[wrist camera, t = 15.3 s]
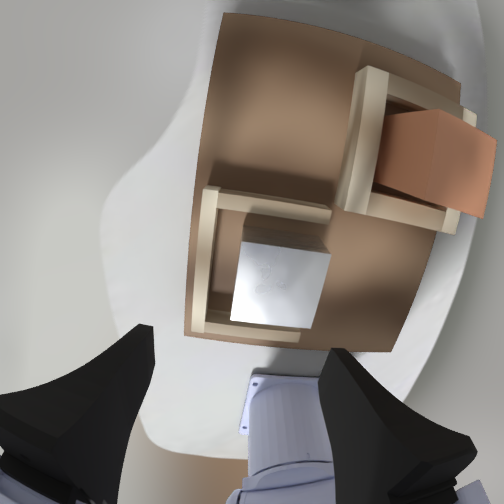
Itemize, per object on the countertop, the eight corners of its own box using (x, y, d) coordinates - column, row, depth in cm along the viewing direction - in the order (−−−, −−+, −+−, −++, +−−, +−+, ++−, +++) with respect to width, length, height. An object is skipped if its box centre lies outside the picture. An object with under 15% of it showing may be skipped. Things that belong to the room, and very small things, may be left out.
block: (302, 302, 19) (310, 328, 16) (233, 293, 18) (230, 320, 16) (318, 236, 17) (331, 254, 14) (242, 224, 17) (241, 241, 14)
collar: (438, 226, 17) (454, 235, 15) (333, 203, 16) (344, 210, 15) (458, 115, 14) (476, 114, 12) (355, 73, 14) (368, 65, 12)
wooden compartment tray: (380, 334, 23) (397, 363, 19) (189, 316, 22) (179, 348, 18) (441, 86, 16) (473, 81, 12) (226, 27, 15) (221, 1, 11)
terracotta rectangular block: (433, 135, 15) (497, 140, 9) (422, 194, 16) (482, 218, 11) (381, 116, 15) (439, 108, 9) (370, 180, 16) (424, 200, 10)
